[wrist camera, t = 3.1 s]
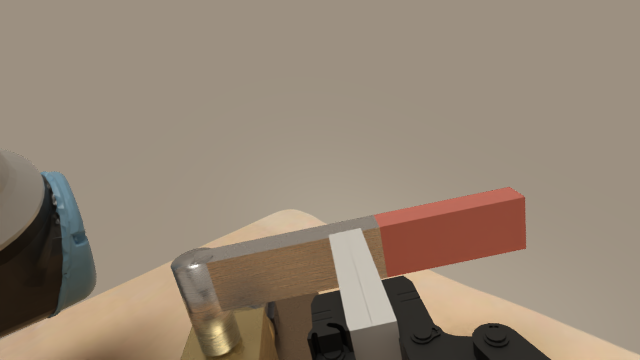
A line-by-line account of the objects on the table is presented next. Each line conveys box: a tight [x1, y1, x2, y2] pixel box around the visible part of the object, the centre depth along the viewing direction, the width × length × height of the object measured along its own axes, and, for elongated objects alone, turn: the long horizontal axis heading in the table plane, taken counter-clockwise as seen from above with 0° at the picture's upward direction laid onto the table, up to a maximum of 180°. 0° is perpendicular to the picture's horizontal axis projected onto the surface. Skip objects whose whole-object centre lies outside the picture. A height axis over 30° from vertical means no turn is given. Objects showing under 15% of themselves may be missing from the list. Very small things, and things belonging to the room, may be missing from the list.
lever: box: [171, 187, 526, 356], centre depth 29 cm, size 24×3×7 cm, turn 95°
